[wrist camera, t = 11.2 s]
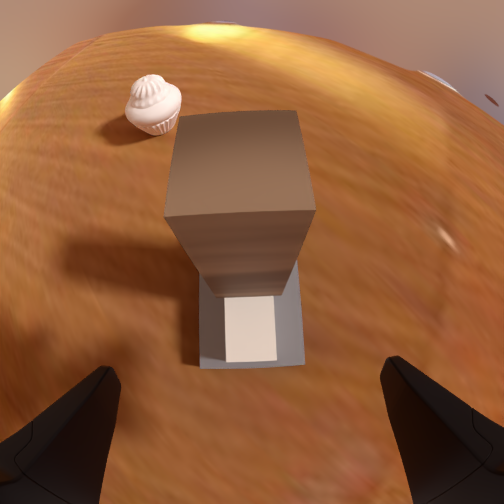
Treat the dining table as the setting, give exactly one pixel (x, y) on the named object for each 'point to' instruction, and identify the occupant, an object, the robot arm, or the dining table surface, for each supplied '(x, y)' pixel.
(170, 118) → the muffin
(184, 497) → the dining table surface
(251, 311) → the ridge block
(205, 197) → the tall brown block
